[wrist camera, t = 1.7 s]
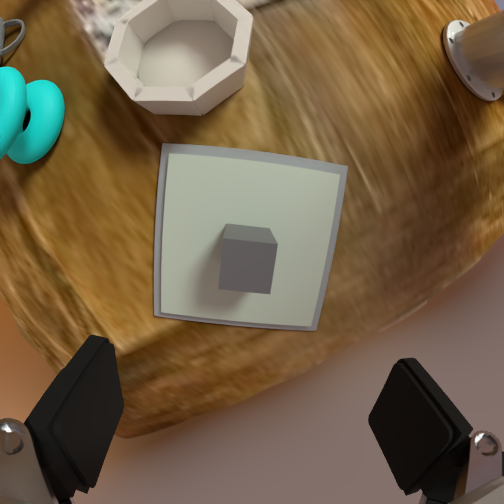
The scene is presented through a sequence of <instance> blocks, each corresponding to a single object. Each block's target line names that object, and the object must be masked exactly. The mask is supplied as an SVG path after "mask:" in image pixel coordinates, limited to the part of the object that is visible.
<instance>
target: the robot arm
mask: <svg viewBox="0 0 504 504" xmlns="http://www.w3.org/2000/svg"><path fill="white" fill-rule="evenodd" d="M443 42H444V46H445V50H446V53H447V56H448V58H449V60H450V63H451V65H452V67H453V68H454V70H455V72H456V74H457V75H458V76H459V78H460V79H461V81H462V82H463V83H464V84H465V86H466V87H467V88H468V89H469V90H470V91H471V92H472V93H473V94H474V95H476V96H477V97H478V98H480V99H482V100H485V101H494V100H497V99H499V98H500V97H501V95H502V93H503V89H504V10H503V11H500V12H498V13H495V14H493V15H491V16H488V17H486V18H484V19H482V20H479V21H477V22H475V23H473V24H471V25H470V24H469V23H467V22H464V21H462V20H453V21H451V22H449V23H448V24H447V25H446V26H445V28H444V31H443ZM123 408H124V402H123V397H122V392H121V387H120V381H119V375H118V369H117V363H116V356H115V348H114V345H113V344H111V343H110V342H109V340H108V338H104V337H100V336H96V335H90V336H89V337H88V338H87V340H86V341H85V342H84V343H83V345H82V346H81V347H80V349H79V350H78V351H77V352H76V354H75V355H74V356H73V358H72V359H71V360H70V362H69V363H68V364H67V366H66V367H65V368H63V369H62V370H61V371H60V372H59V374H58V375H57V376H56V378H55V379H54V381H53V382H52V383H51V385H50V386H49V388H48V389H47V390H46V391H45V393H44V394H43V396H42V397H41V399H40V400H39V402H38V403H37V404H36V406H35V407H34V409H33V410H32V412H31V413H30V415H29V416H28V418H27V419H26V421H25V422H24V424H23V423H21V422H20V421H18V420H15V419H12V418H4V419H0V504H75V502H74V500H73V499H72V497H73V496H74V493H75V491H76V490H79V491H81V492H84V493H86V494H87V493H88V490H89V487H91V488H94V487H95V485H96V482H97V480H98V477H99V474H100V471H101V468H102V465H103V462H104V459H105V457H106V454H107V451H108V449H109V446H110V443H111V441H112V438H113V435H114V433H115V430H116V428H117V425H118V423H119V420H120V417H121V415H122V412H123ZM368 421H369V425H370V427H371V429H372V431H373V433H374V435H375V437H376V439H377V441H378V444H379V446H380V448H381V450H382V452H383V454H384V456H385V458H386V460H387V462H388V464H389V467H390V469H391V471H392V473H393V475H394V477H395V479H396V482H397V484H398V486H399V487H400V489H401V490H404V493H405V495H406V496H407V495H409V494H412V493H415V492H418V491H419V490H420V489H421V490H422V492H423V493H422V496H421V499H420V502H419V504H504V452H502V447H501V443H500V441H499V439H498V438H497V437H496V436H495V435H494V434H492V433H491V432H488V431H483V430H482V431H477V432H476V433H474V434H473V436H472V437H471V438H470V437H469V436H468V435H469V434H470V433H471V431H472V430H473V428H472V426H471V425H470V424H469V423H468V421H467V420H466V419H465V418H464V416H463V415H462V414H461V413H460V411H459V410H458V409H457V408H456V406H455V405H454V404H453V403H452V401H451V400H450V399H449V398H448V396H447V395H446V394H445V393H444V392H443V390H442V389H441V388H440V387H439V386H438V385H437V383H436V382H435V381H434V380H433V378H432V377H431V376H430V375H429V374H428V372H426V370H425V369H424V368H423V367H422V365H421V364H420V363H419V362H418V361H417V360H416V359H415V358H405V359H400V360H398V361H397V363H395V364H394V366H393V368H392V370H391V372H390V374H389V376H388V379H387V381H386V383H385V385H384V387H383V389H382V391H381V393H380V395H379V397H378V399H377V401H376V403H375V405H374V407H373V409H372V411H371V413H370V414H369V419H368Z"/></svg>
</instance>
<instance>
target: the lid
mask: <svg viewBox="0 0 504 504" xmlns="http://www.w3.org/2000/svg"><path fill="white" fill-rule="evenodd" d="M339 178H340V174H334V173H329V172H324V171H318V170H312V169H306V168H300V167H294V166H288V165H281V164H274V163H266V162H259V161H251V160H242V159H233V158H223V157H213V156H201V155H187V154H171V153H169V160H168V169H167V179H166V190H165V203H164V217H163V235H162V261H161V312H163V313H170V314H177V315H185V316H193V317H201V318H210V319H219V320H229V321H240V322H251V323H264V324H277V325H293V326H311V325H312V321H313V317H314V312H315V308H316V304H317V299H318V295H319V290H320V286H321V281H322V276H323V271H324V266H325V261H326V256H327V251H328V246H329V240H330V235H331V229H332V223H333V218H334V211H335V205H336V199H337V192H338V185H339Z"/></svg>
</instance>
